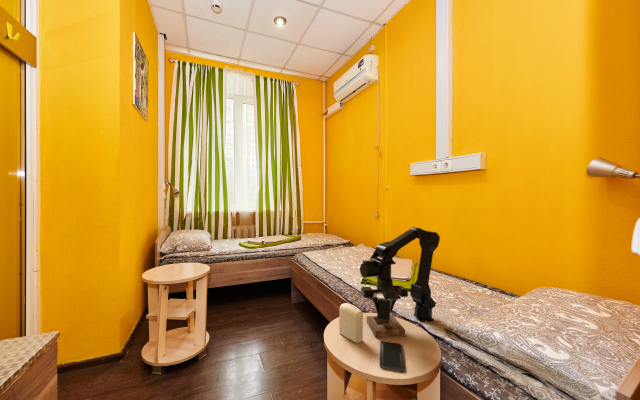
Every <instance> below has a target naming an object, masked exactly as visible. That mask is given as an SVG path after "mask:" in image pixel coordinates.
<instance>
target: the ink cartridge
mask: <svg viewBox="0 0 640 400" xmlns="http://www.w3.org/2000/svg"><path fill="white" fill-rule="evenodd" d="M390 303H391V302H390V300H389V299H384V297H378V313H377V312H376V313H377V315H376V316H377V318H379V319H384V320H389V319H390V316H391V312H390Z"/></svg>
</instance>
